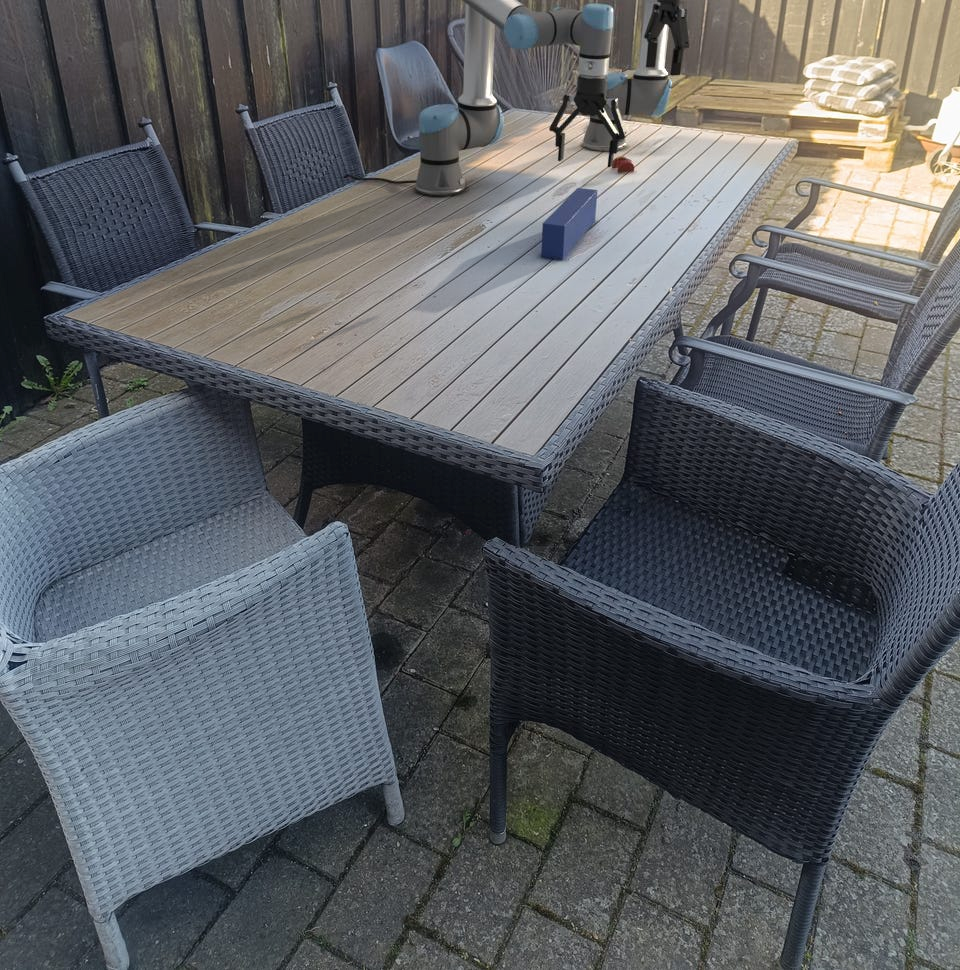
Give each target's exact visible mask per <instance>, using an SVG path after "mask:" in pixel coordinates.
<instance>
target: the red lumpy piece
mask: <svg viewBox="0 0 960 970" xmlns="http://www.w3.org/2000/svg"><path fill="white" fill-rule="evenodd" d="M611 169H616V172H617V174H620V173H621V174H622V173H634V172H635V165H634V163H633V160H631V159H630V158H627V157H626V156H617V157H615V158H613V165H612V166H611Z"/></svg>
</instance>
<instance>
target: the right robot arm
mask: <svg viewBox="0 0 960 970" xmlns="http://www.w3.org/2000/svg"><path fill="white" fill-rule="evenodd" d="M684 2H685V0H644V8H643V9H644V10H643V18H642V19H643V20H642V28H641V30H642V31H641V39H640V40H641V41H640V51H639V61H638V68H637V69H636V70H635V71H633V77H632V78H628V74H627V73H624V72H613V73H608V74H607V75H606V77H607V89H606V98H607V99H614V98H618V108H619V111H620V114H621V117H622V120H623V121H624V116H630V117H631V116H632V117H633V116H635V117H636V116H637V117H651V118H652V117H660V116H662V115H664V114H665V112H666V110H667V107H668V104H669V100H670V95H671V90H672V84H673V83H672V79H670V78H669V76H671V77H673V76H681V70H682V64H683V58H684V51H685V50H686V49H689V48H690V38H689V28H688V19H687V17H688V9H687V8H681V4H683V3H684ZM669 29H670V33H671V37H672V41H673V45H674V47H673V48H672V49H673V50H672V58H671V67H670V75H669V72H668V71H667V69H666V68H665V65H666V57H667V48H668V39H669ZM604 110H605V111H606V114H607V116H608V117H609V119H610V121H611V122H612V124H613V125H614V127H615V129H616V130H617V132H618V129H617V126H616V123H615V120H614V117H613V114H612V111H611V108H609V105H608V104H606V105H605V106H604ZM618 133H619V132H618ZM626 138H627V137H625V139H621V140H619V147H618V151H622V150H624V149H626V147H627V139H626ZM612 139H613V138H612V137H611V135H610V134H609V132H608V131H607V129H606V127H605V126H604V124H603V123H602V121H601V119H599V117H598V116H597V115H596V116H590V115H589V122H588V126H587V128H586V131H585V133H584V136H583V138H582V146H583V148H585V149H586V150H587V149H588V150H591V151H597V152H609V147H610V141H611V140H612Z"/></svg>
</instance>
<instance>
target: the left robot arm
mask: <svg viewBox="0 0 960 970" xmlns="http://www.w3.org/2000/svg"><path fill="white" fill-rule="evenodd" d="M461 2H464V3H465V11H464V45H463V47H464V50H463V51H464V52H463V53H464V54H463V56H464V57H463V85H462V86H463V87H462V88H463V89H462V91H463V93H462V94H461V95H460V96H459V97H458V98H457V105H455V104H453V103H452V104H451V103H450V104H449V103H443V104H434V105H431V106H428V107H426V108H424V109H422V111H421V112H420V114H419V116H418V134H419V135H418V136H419V157H420V158H419V159H420V161H419V162H420V164H419V168H418V172H417V176H416V179H415V180H414V179H413V180H392V179H388V178H382V177H359V176H355V175H353V174H350V173H347V174H345V175H344V176H343V177H342V179H346V178H351V179H354V180H356V181H378V182H379V181H380V182H386V183H390V184H396V185H397V184H398V185H402V184H415V185H414V186H415V192H417V193H418V194H420V195H424V196H430V197H450V196H455V195H459V194H461V193H463V192H464V191H466V177H465V176H463V172H462V169H461V165H460V152H461V151H466V150H471V149H477V148H485V147H487V146H491V145H493V144H495V143H497V141H499V139H500V138H501V136H502V135H503V131H504V126H505V118H504V115H503V111H502V108H501V107H500V106H499V105H498V100H497V99H496V98H495V96H494V95H493V83H494V82H493V80H494V60H495V59H494V57H495V36H496V27H497V28H498V29H500V30H501V31H502V32H503V35H504V39H505V41H506V42H507V45H508V46H509V47H510V48H511V49H514V50H528V49H533V48H539V47H540V48H542V47H550V46H557V45H558V46H559V45H565V44H566V45H568V44H569V45H573V46H578V47H579V53H578V68H577V74H579V75H578V76H577V79H576V92H575V95H573V94H571V93H570V92H567V93H565V94H564V95H563V97H562V102H561V103H562V104H561V106H560V108H559V109H558V110H557V113H556V115H555V116H554V118H553V120H552V122H551V124H550V125H549V128H548V129H549V132H553V133H554V134H555V143H554V146H555V147H556V148H558V149H557V151H558V152H557V162H561V161H562V160H564V154H565V141H566V133H565V132H564V130H566V129H567V127H568V126H569V125H570V124H571V123H572V122H573V120H575V118H576V117H578V115H580V114H581V115H582V116H589V117H590V116H596V115H597V116H598V117H599V119H601V121H602V123H603V124H604V126H605V127H606V129H607V131H608V132H609V134H610V135H611V137H612V138H613V139H612V140H611V141H610V147H609V151H608V157H607V158H608V159H607V168H612V165H613V160H614V159H615V158H614V156H615V155H616V154H617V153H618V152H619V150H618V147H619V140H621V139H625V138H627V137H628V133H627V129H626V126H625V124H624V119H623V120H622V117H621V114H620V111H619V108H618V98H614V99H607V98H606V89H607V77H606V75H607V74H609V70H610V69H609V68H610V54H611V45H612V36H613V30H614V29H613V28H614V8H613V6H611V5H610V4H604V3H587V4H585V5H584V6H583V7H582V10H578V9H572V8H570V7H566V6H565V7H554V8H552V10H548V11H547V10H546V11H533V10H532V9H530V8H529V7H527V6H526V5H524V4H523V3H522V2H520V1H518V0H461ZM572 102H574V104H575V106H576V108H574V110H573V112H572V113H571V114H570V115H569V116H568V117H567V118H566V119H565V120H564V121H563V122H562V123H561V125H560V126H558V125H559V123H560V121H561V120H562V118H563V116H564V114H565V112H566V111H567V110H568V107H569V105H571V104H572ZM606 104H608V105H609V108H611V111H612V114H613V117H614V120H615V123H616V126H617V129H618V132H619V133H618V132H617V130H616V129H615V127H614V125H613V124H612V122H611V121H610V119H609V117H608V116H607V114H606V111H605V110H604V106H605V105H606Z"/></svg>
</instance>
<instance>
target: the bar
mask: <svg viewBox="0 0 960 970" xmlns="http://www.w3.org/2000/svg"><path fill="white" fill-rule="evenodd" d="M597 201H598V189H592V188H584V187H583V188H582V187H577V188H575V190H574V191H573V192H572V193H571V194H570V195H569V196H568V197H567V198H565V200H564V201H563V202H562V203H561V204H560V205H559V206H558V207H557V208H556V209H555V210H554V211H553V212H552V213H551V214H550V215H549V216H548V217H547V219H545V221H543V222H542V230H541V234H542V235H541V253H540V258H544V259H553V260H559V261H563V260H564V259H565V258H566V257H567V255H568V254H569V253H570V252H571V251H572V250H573V248H574V247H575V246H576V245H577V244H578V242H579V241H580V240H581V239H582V238H583V237H584V235H585V234H586V233H587V232H588V231H589V229H590V228H591V227H592V226H593V225H594V223H596V215H597V214H596V213H597Z"/></svg>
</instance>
